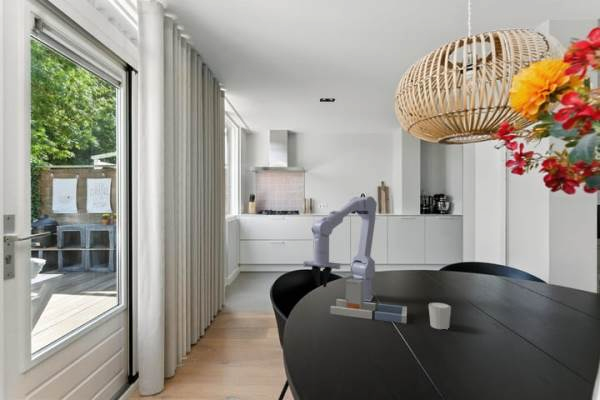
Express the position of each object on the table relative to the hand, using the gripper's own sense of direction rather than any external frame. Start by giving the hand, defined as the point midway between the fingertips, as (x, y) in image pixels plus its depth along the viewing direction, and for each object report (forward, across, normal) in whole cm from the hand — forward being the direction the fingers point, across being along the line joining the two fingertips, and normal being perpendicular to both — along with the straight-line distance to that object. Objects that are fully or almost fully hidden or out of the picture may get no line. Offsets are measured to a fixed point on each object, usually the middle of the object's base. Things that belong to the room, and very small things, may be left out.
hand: (321, 286), depth 122 cm
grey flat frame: (+8, +18, 0) cm, 20 cm away
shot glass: (+9, +42, -4) cm, 43 cm away
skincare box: (+9, +13, 0) cm, 16 cm away
